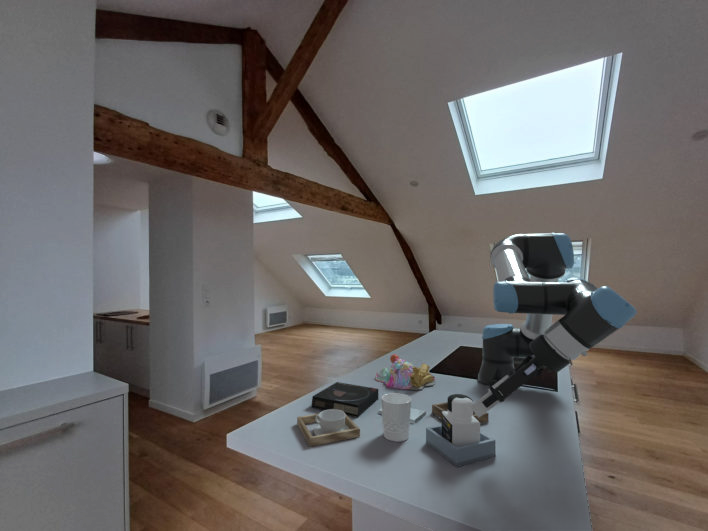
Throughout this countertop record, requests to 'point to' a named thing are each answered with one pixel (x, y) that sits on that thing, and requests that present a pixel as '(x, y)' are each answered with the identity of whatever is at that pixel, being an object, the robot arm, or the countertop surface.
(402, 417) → the white cup
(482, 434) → the grey tray
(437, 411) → the walnut holder
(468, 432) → the medicine bottle
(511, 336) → the robot arm
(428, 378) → the candy landscape model
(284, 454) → the countertop surface
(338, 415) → the teacup
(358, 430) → the oak cup rest
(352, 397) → the portable cd player
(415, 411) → the hard drive
